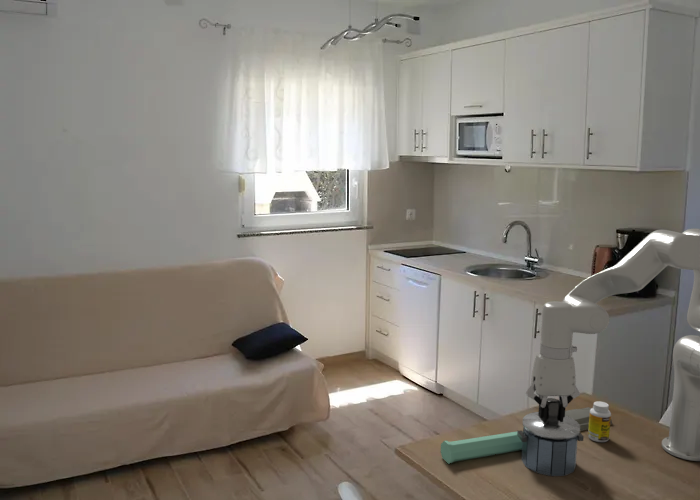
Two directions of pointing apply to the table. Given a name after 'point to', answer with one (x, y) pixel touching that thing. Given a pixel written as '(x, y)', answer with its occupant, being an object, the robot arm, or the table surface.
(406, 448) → the table surface
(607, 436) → the supplement bottle
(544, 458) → the pot
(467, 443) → the mint green octagonal rod
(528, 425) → the lid
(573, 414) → the soap mold
